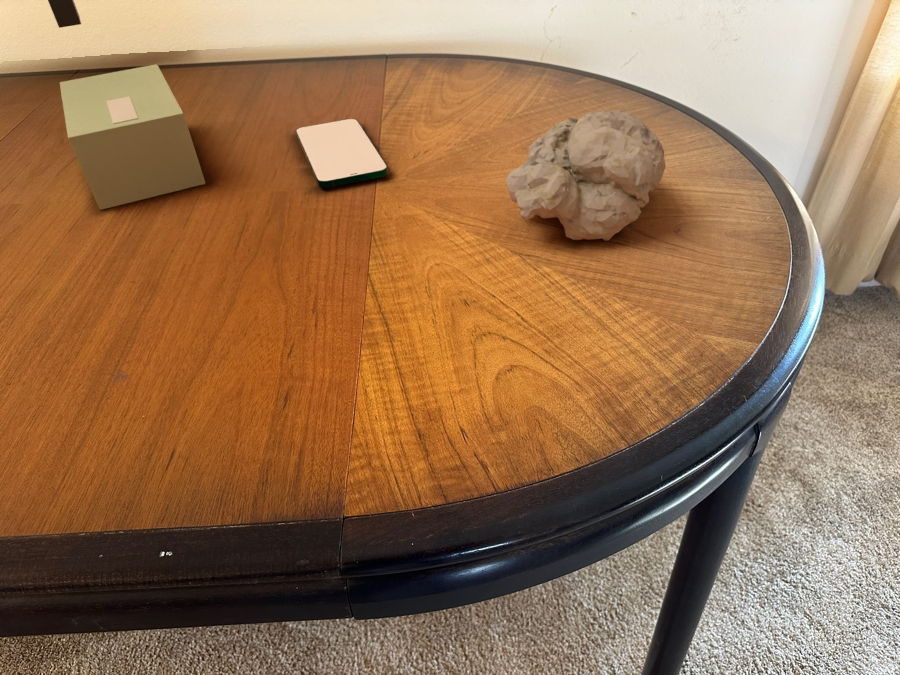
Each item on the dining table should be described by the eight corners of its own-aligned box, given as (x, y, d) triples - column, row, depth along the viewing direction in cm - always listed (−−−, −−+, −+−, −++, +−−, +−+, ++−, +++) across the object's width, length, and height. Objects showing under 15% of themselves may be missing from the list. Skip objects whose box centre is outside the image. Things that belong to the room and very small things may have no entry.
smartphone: (295, 135, 81) (319, 191, 69) (293, 128, 80) (317, 183, 68) (357, 124, 82) (391, 176, 71) (356, 117, 82) (390, 168, 70)
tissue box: (87, 147, 81) (58, 81, 75) (178, 127, 84) (156, 63, 79) (100, 210, 68) (67, 136, 63) (205, 183, 72) (183, 112, 66)
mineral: (470, 187, 64) (496, 117, 55) (601, 131, 70) (644, 59, 61) (540, 288, 61) (580, 231, 52) (671, 220, 67) (727, 159, 58)
